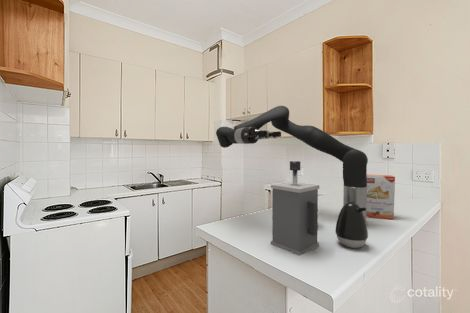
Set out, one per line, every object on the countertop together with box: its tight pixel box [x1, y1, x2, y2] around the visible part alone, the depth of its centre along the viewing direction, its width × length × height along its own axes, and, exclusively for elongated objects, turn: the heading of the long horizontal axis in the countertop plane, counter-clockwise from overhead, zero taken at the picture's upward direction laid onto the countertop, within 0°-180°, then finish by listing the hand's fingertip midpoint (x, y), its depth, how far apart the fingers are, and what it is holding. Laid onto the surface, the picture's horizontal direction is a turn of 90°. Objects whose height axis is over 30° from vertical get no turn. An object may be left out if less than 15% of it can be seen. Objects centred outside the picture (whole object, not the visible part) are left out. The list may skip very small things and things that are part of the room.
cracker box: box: [366, 173, 396, 221], centre depth 115 cm, size 14×6×21 cm, turn 68°
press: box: [270, 181, 320, 256], centre depth 81 cm, size 12×14×21 cm
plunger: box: [289, 160, 301, 186], centre depth 81 cm, size 8×8×28 cm
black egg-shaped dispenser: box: [335, 202, 369, 249], centre depth 81 cm, size 10×10×15 cm
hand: (273, 133), depth 93 cm, fingers open, 8 cm apart
